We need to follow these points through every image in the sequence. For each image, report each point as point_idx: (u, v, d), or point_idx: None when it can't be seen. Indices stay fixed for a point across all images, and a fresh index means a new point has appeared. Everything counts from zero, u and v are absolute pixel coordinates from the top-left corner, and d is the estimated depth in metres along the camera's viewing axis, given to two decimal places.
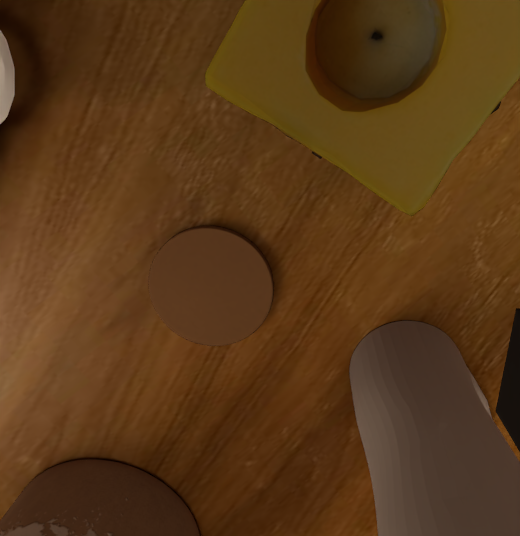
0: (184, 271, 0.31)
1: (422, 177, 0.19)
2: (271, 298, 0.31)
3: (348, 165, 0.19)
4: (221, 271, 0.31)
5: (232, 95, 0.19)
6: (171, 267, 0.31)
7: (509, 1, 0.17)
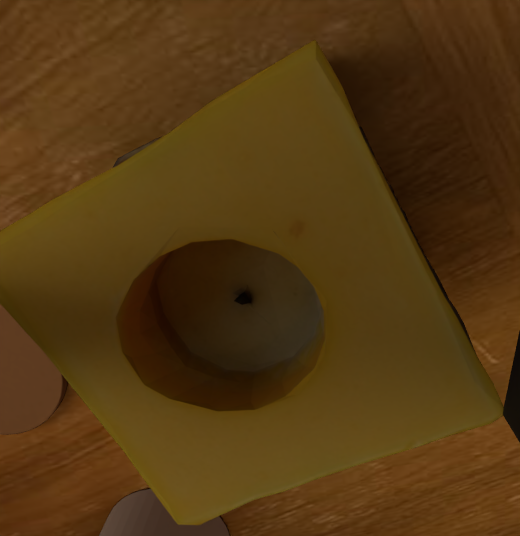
0: None
1: (210, 498, 0.14)
2: (52, 410, 0.25)
3: (126, 444, 0.14)
4: (6, 357, 0.24)
5: (2, 294, 0.12)
6: None
7: (400, 380, 0.12)
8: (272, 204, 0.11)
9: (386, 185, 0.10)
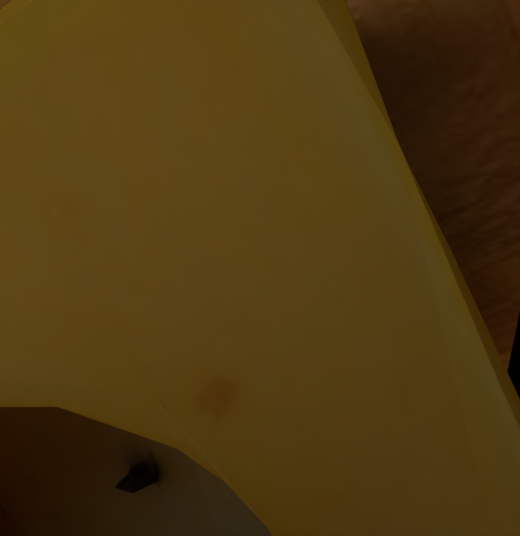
0: None
1: None
2: None
3: None
4: None
5: None
6: None
7: None
8: (149, 335, 0.04)
9: (469, 301, 0.04)
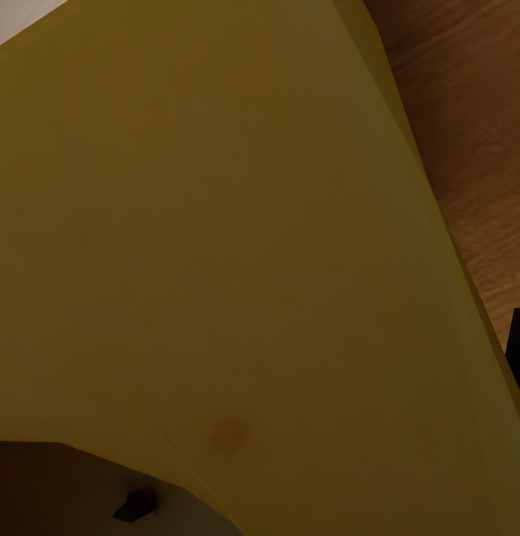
0: None
1: None
2: None
3: None
4: None
5: None
6: None
7: None
8: (161, 373, 0.04)
9: (496, 347, 0.03)
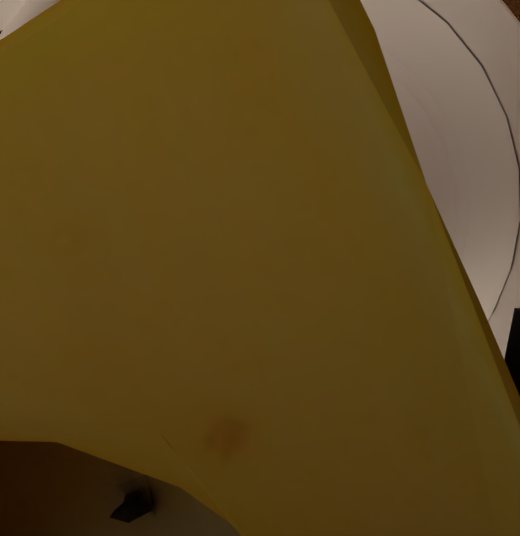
0: None
1: None
2: None
3: None
4: None
5: None
6: None
7: None
8: (159, 371, 0.04)
9: (493, 346, 0.03)
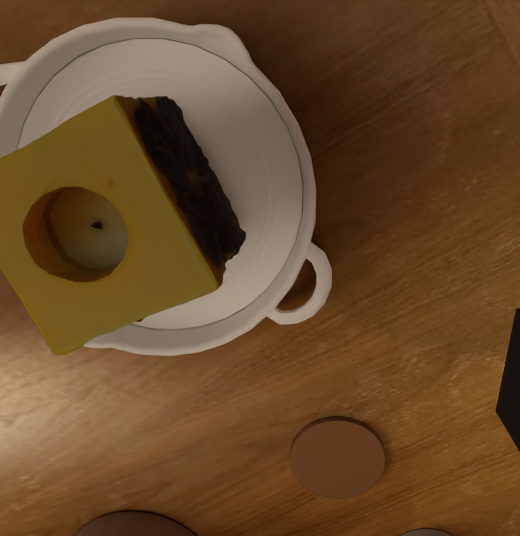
0: (328, 443, 0.42)
1: (71, 336, 0.25)
2: (373, 484, 0.43)
3: (26, 300, 0.25)
4: (353, 454, 0.42)
5: None
6: (321, 436, 0.42)
7: (166, 267, 0.24)
8: (98, 170, 0.23)
9: (149, 163, 0.22)
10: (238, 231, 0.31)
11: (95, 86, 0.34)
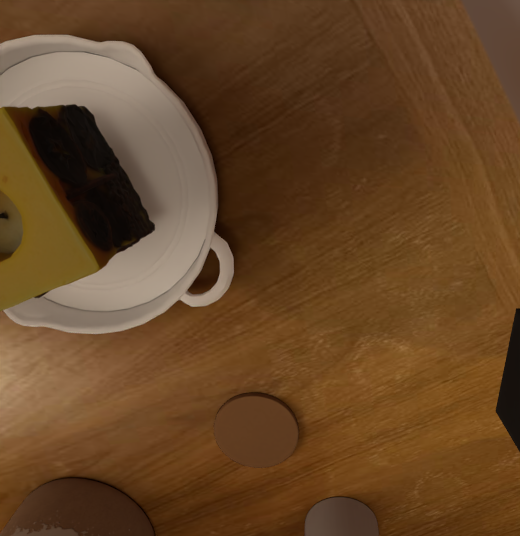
0: (246, 416, 0.46)
1: None
2: (289, 455, 0.47)
3: None
4: (269, 427, 0.46)
5: None
6: (240, 410, 0.46)
7: (55, 250, 0.28)
8: None
9: (35, 163, 0.27)
10: (144, 222, 0.36)
11: (26, 93, 0.39)
